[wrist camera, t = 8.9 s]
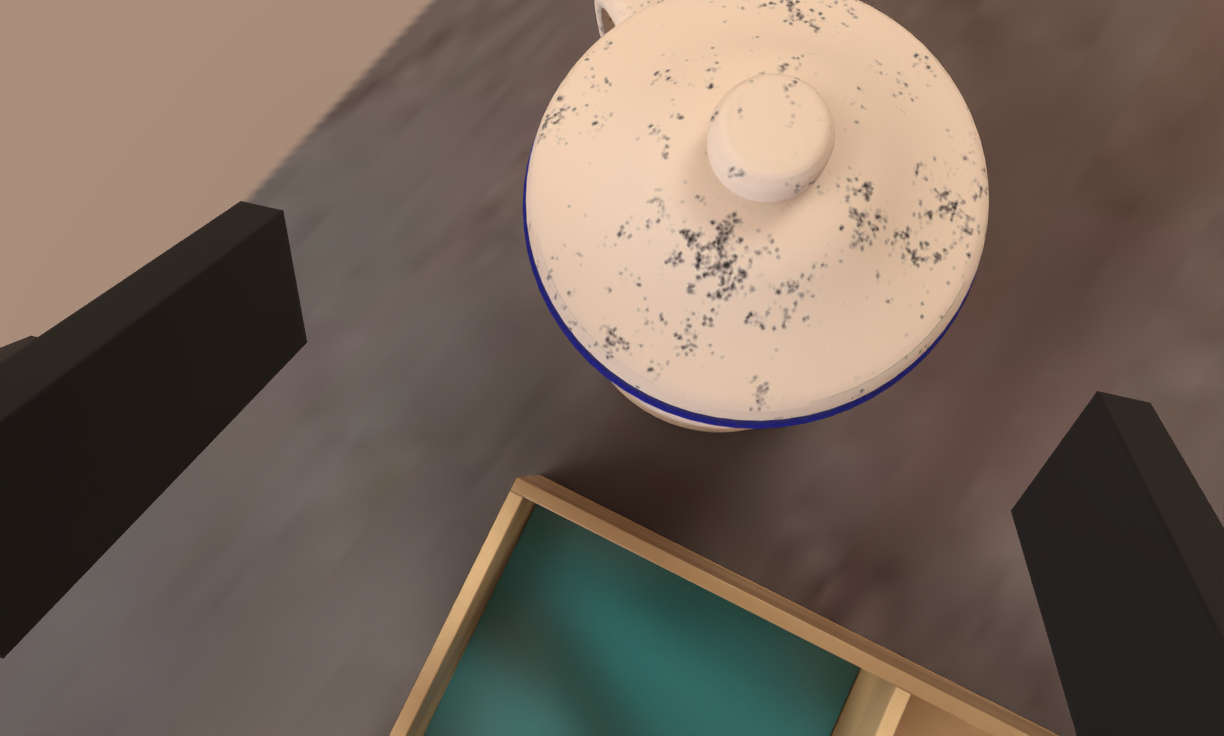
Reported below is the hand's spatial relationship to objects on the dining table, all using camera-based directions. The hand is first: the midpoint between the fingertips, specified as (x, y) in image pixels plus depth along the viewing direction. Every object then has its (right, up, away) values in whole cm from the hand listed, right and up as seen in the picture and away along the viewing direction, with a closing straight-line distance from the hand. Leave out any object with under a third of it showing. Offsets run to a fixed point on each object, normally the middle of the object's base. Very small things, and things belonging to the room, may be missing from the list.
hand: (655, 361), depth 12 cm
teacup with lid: (+2, +3, +11) cm, 12 cm away
